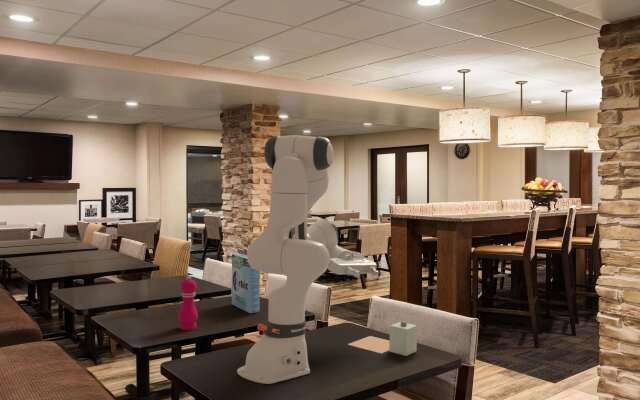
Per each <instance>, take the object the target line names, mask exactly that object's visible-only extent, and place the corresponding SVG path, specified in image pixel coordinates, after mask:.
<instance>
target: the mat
mask: <svg viewBox="0 0 640 400" xmlns="http://www.w3.org/2000/svg"><path fill="white" fill-rule="evenodd" d="M389 340H390V339H389ZM389 340H388V339H384V338H380V337H375V336H373V335H369V336H366V337H364V338H363V337H362V338H361V339H358V340H355V341H353V342H350V343H347V345H348V346H351V347H355V348H359V349H364V350H365V351H371V352H374V353H376V354H377V353H378V354H384V353H386V352H389Z"/></svg>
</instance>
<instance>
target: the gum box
mask: <svg viewBox="0 0 640 400" xmlns="http://www.w3.org/2000/svg"><path fill="white" fill-rule="evenodd" d="M260 275H261V274H260V271H257V270H254V269H252V268H251V267H250V265H249V263H248V260H247V254H245V253H244V254H243V253H242V252H240V253H239V252H237V253H231V305H233V306H235V307H237V308H238V309H241V310H242V311H244V312H247V313H248V314H255V313H260V312H261V311H260V304H261V303H260V302H261V301H260V300H261V298H260V297H261V295H260V294H261V293H260V292H261V290H260V289H261V283H260V281H261V278H260V277H261V276H260Z"/></svg>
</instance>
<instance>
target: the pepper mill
mask: <svg viewBox="0 0 640 400" xmlns="http://www.w3.org/2000/svg"><path fill="white" fill-rule="evenodd" d="M179 288H180V290H181V291H182V292H181V297H182V304H181V307H180V310H179V311H178V316H177V318H178V321H180V322H179V330H182V331H193V330H195V329H197V327H198V326H197V322H196V321H197V320H198V318H199V315H198V313H199V312H198V310H197V308H196V305H195V297H196V292H195V291H196V290H197V288H198V286H197V282H196V281H195V280H194V279H192V275H190V274H187V275H186V279H184V280H183V281H181V283H180V287H179Z"/></svg>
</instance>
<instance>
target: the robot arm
mask: <svg viewBox="0 0 640 400" xmlns="http://www.w3.org/2000/svg"><path fill="white" fill-rule="evenodd" d="M334 153H335V152H334V148H333V143H332V142H331V140H329V138H327V137H325V136H320V135H318V136H310V135H300V134H292V135H291V134H290V135H283V136H282V135H276V136H275V135H274V136H272V137H269V138H268V140H267V141H266V142H265V145H264V152H263V154H264V155H263V156H264V160H265V162H266V164H267V166H268V167H269V168H270V169H271V170H272V174H271V182H270V183H271V184H270V203H269V214H268V220H267V223H266V225H265V228H264V229H263V231H262V233H261V234H260V235H259V236H257V238H255V239H253V241H251V243H250V244H249V246H248V248H247V252H246V255H247V260H248V263H249V265H250V267H251V268H252V269H254V270H257V271H260V272H261V273H263V274H264V273H265V274H271V275H281V276H286V280H285V281H286V282H285V284H282V285H280V286H278V287H276V288H275V289H273V290H272V291H271V292H270V294H269V297H268V307H267V308H268V312H267V313H268V315H267V317H268V318H267V320H266V322H265V324H264V323H259V324H258V325H257V327H256V328H257V330H258V331H261V332H263V334H262V335H261V337H259V339H258V340H257V341H256V342H255V344H253V346H251V348H249V350H248V351H247V353H246V358H245V364H244V365H243V366H241V367H239V368H237V369H236V370H237V371H236V372H237V375H239V376H240V377H242V378H243V379H246V380H248V381H251V382H255V383H258V384H266V385H267V384H268V385H271V384H275V383H278V382H283V381H286V380H291V379H293V378H297V377H301V376H305V375H308V374H310V373H311V369H310V365H309V360H308V359H309V358H308V349H307V348H308V346H307V341H306V332H307V320H306V315H305V314H306V313H305V312H306V302H307V296H308V292H309V290H310V288H311V286H312V284H313V283H314V282H315V280H317V279H318V278H320V276H322V275H323V274H324V273H326V271H327V270H328V271H330V272H332V273H333V274H336V275H339V276H340V275H350V276H354V277H355V278H357V277H358V278H359V277H361V275H362V274H371V275H372V276H373V277H378V276H379V271H378V270H376V269H377V265H378V264H377V263H376V262H375V261H373V260H372V259H370V258H368V257H366V256H364V255H362V253H360V252H358V251H353V250H348V249H347V248H343V247H341V246H339V245H338V244H339V231H338V226H336V225H335V224H334V222H333V221H331V220H329V219H327V218H320V219H318V220H316V221H315V222H313V223H312V224H310V225H309V226H308V216H309V214H310V211H311V209H312V208H313V207H314V205H315V204H316V203H317V202H318V201H319V200H320V199H321V198H322V197H323V196H324V195H325V193H326V192H327V190H328V188H329V182H330V181H329V173H328V172H329V171H328V168H329V167H330V166H331V165H332V163H333V159H334V156H335V155H334ZM290 234H291V235H290ZM289 236H290V237H289Z"/></svg>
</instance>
